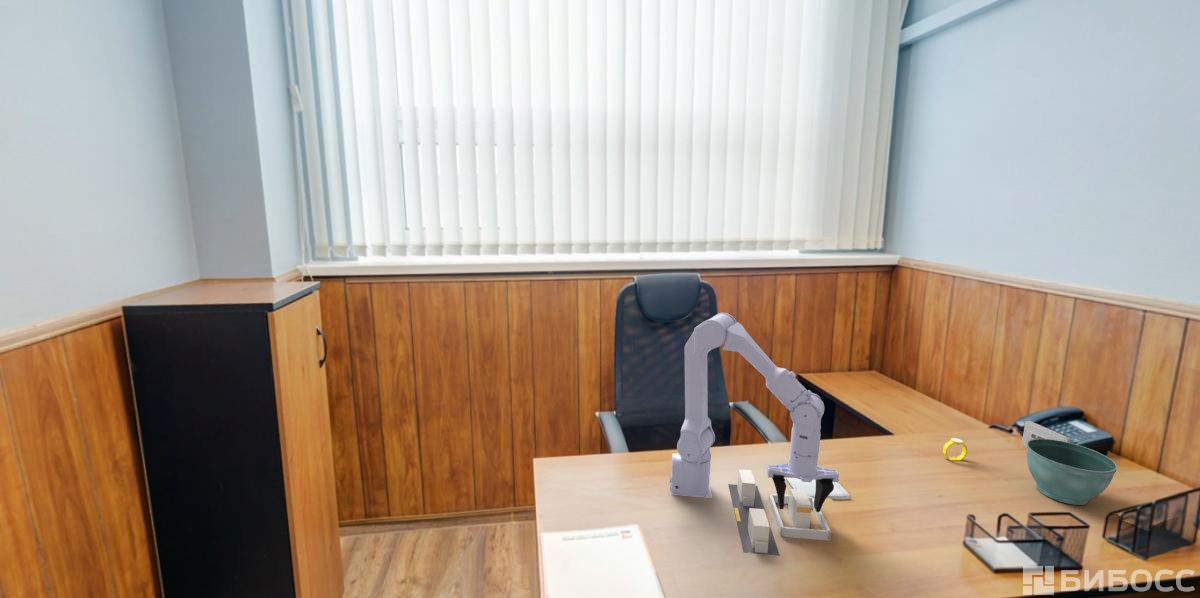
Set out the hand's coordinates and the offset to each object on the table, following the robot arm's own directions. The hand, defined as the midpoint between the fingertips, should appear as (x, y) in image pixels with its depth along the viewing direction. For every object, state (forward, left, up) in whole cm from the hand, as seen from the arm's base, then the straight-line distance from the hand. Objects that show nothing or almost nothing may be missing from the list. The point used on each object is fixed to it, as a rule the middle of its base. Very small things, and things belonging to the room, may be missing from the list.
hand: (798, 508), depth 114 cm
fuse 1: (-10, +8, -3) cm, 13 cm away
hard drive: (+8, +14, -4) cm, 17 cm away
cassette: (+77, +42, -4) cm, 88 cm away
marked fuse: (0, -1, -3) cm, 3 cm away
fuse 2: (-10, -8, -3) cm, 13 cm away
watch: (+50, +35, -4) cm, 61 cm away
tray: (0, 0, -3) cm, 3 cm away
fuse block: (-10, 0, -3) cm, 11 cm away
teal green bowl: (+67, +20, -4) cm, 70 cm away
